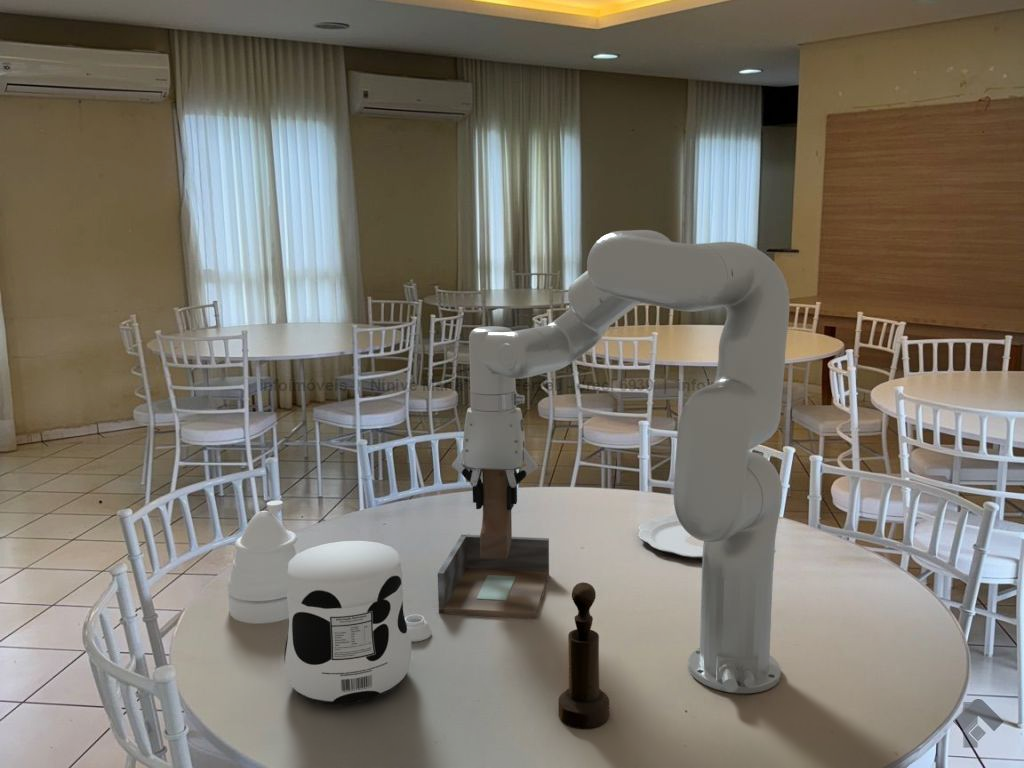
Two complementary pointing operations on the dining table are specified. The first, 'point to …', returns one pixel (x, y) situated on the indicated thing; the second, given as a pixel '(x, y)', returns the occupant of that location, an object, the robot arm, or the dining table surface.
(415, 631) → the lidless jar
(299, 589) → the milk container
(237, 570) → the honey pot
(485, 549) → the wooden block
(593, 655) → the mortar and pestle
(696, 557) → the plate
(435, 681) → the dining table surface
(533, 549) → the tray
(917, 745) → the dining table surface
